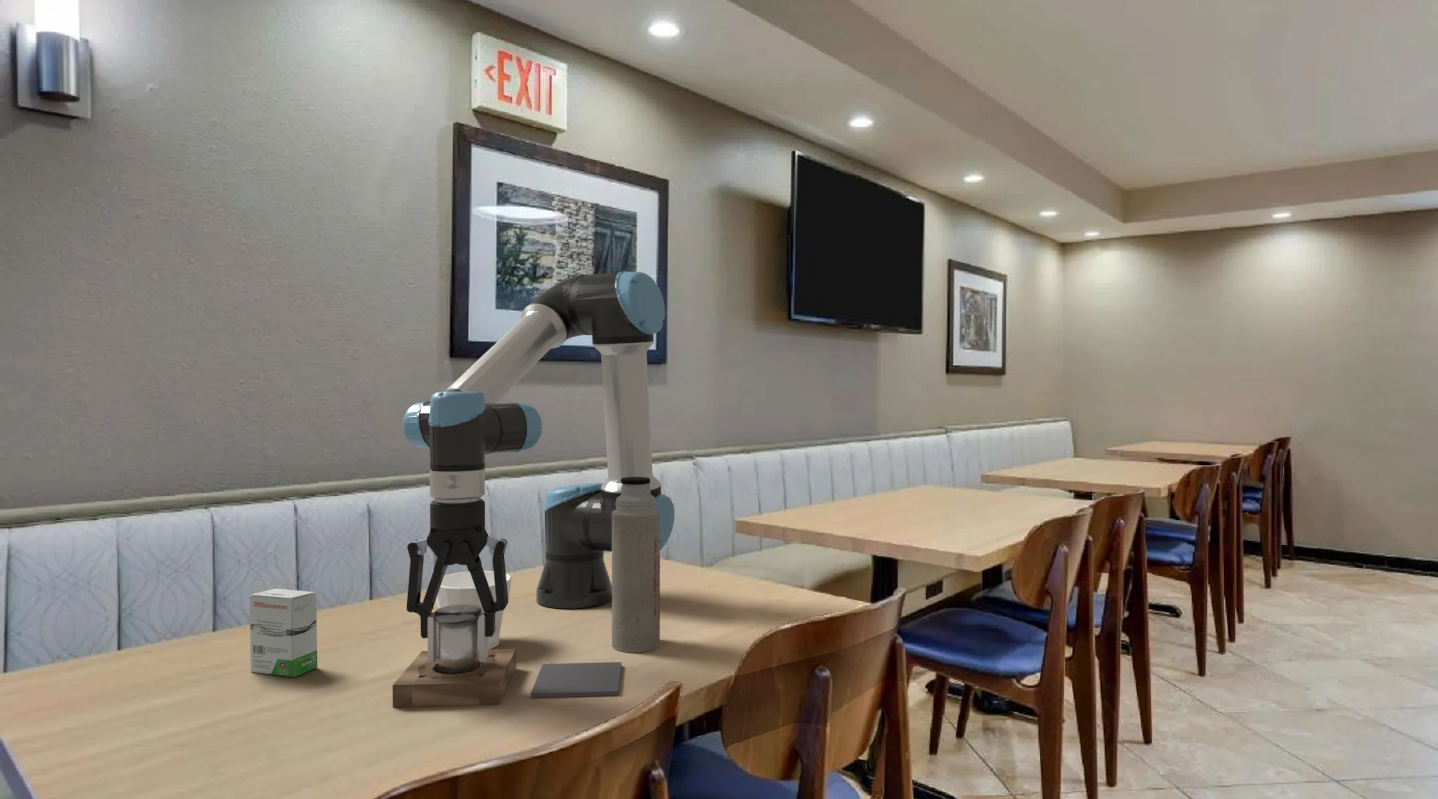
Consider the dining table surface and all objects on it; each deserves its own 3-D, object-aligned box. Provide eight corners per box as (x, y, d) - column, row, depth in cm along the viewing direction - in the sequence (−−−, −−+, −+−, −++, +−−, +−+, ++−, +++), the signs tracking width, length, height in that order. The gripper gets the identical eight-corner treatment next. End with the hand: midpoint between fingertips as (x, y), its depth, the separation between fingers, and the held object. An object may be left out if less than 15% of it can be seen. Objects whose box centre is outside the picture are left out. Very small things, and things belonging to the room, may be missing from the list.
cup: (527, 639, 139) (527, 574, 139) (476, 661, 128) (476, 591, 128) (470, 630, 144) (470, 567, 144) (417, 650, 133) (416, 583, 133)
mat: (542, 667, 125) (542, 663, 125) (621, 665, 126) (621, 662, 126) (530, 697, 113) (530, 693, 113) (617, 695, 114) (617, 691, 114)
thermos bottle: (665, 639, 139) (665, 475, 139) (652, 654, 132) (652, 480, 131) (620, 636, 141) (620, 474, 140) (605, 651, 133) (605, 479, 133)
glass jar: (441, 679, 120) (441, 604, 120) (485, 678, 121) (485, 604, 120) (429, 695, 114) (429, 617, 114) (476, 694, 114) (476, 616, 114)
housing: (422, 670, 124) (422, 651, 124) (516, 668, 125) (516, 648, 125) (392, 707, 110) (392, 685, 110) (498, 704, 111) (498, 682, 111)
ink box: (319, 667, 125) (318, 590, 125) (293, 678, 120) (292, 598, 120) (275, 661, 128) (275, 585, 128) (248, 672, 123) (247, 593, 123)
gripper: (379, 503, 112) (380, 670, 113) (522, 502, 114) (522, 666, 114) (396, 496, 120) (397, 652, 120) (530, 494, 121) (530, 649, 122)
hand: (458, 659), depth 117 cm, fingers closed on glass jar, 6 cm apart
